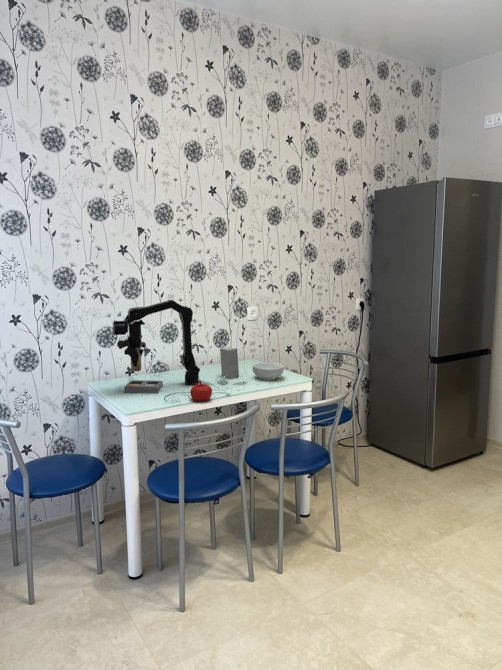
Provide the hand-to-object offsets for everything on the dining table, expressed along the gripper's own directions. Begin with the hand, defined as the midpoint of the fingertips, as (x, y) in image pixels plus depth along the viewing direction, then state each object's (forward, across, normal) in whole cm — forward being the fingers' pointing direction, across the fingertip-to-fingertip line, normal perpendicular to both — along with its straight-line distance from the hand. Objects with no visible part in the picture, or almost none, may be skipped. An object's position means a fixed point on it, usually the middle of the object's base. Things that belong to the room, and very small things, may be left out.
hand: (136, 365), depth 247 cm
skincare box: (+12, -26, +44) cm, 53 cm away
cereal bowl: (+12, -24, +65) cm, 70 cm away
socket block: (+12, +2, +4) cm, 13 cm away
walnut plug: (+2, 0, 0) cm, 2 cm away
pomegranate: (+12, +16, +34) cm, 40 cm away
